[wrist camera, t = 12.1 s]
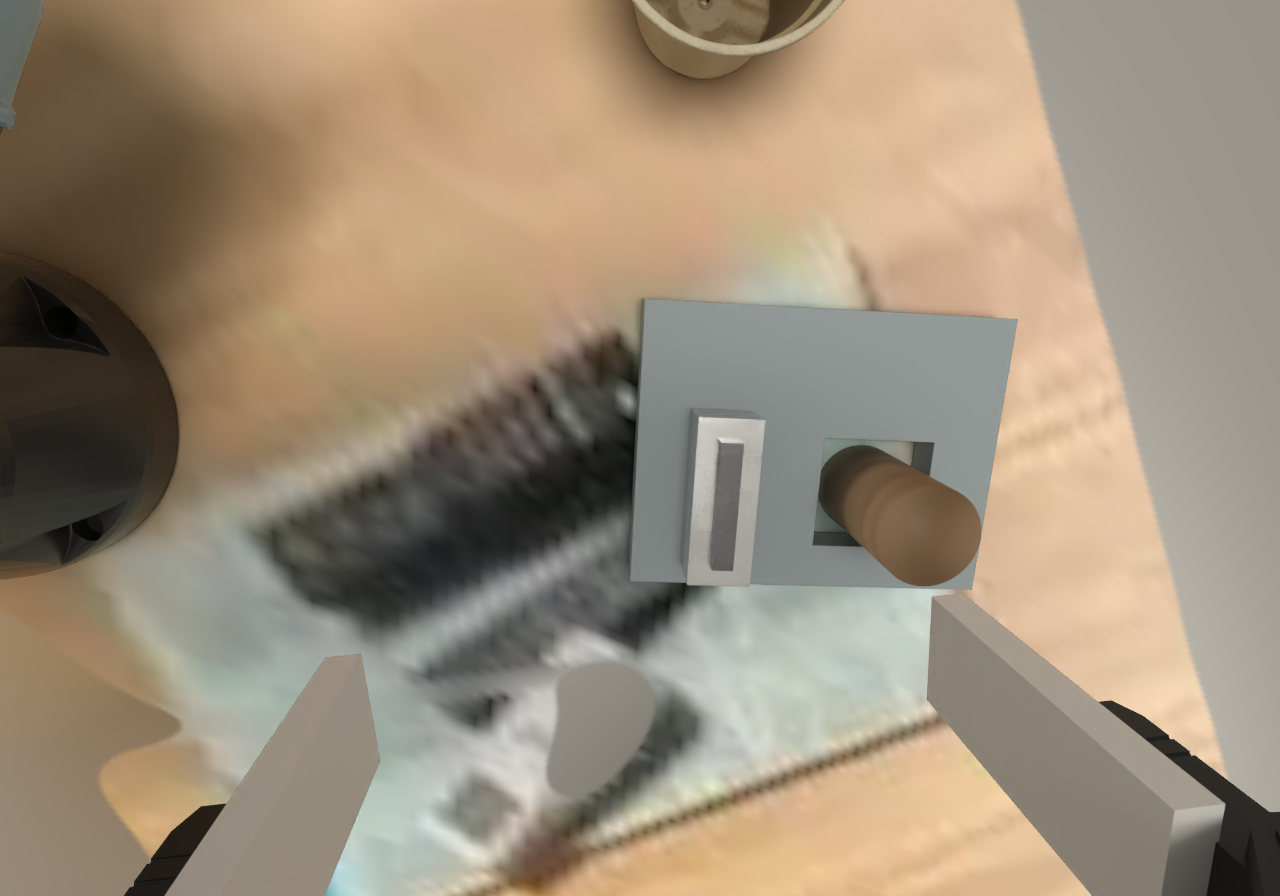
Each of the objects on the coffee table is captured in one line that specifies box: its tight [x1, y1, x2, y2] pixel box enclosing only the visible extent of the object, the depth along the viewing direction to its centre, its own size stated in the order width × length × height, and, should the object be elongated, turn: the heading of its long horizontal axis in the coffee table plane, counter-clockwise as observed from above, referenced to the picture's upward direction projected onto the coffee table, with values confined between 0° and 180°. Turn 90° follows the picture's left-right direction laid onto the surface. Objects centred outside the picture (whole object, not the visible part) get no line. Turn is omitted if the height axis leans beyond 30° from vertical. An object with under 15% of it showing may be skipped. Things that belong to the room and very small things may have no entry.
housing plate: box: [629, 299, 1018, 590], centre depth 34 cm, size 18×14×2 cm
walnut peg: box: [818, 445, 981, 586], centre depth 32 cm, size 4×4×8 cm
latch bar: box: [681, 408, 765, 586], centre depth 32 cm, size 3×8×3 cm, turn 177°
